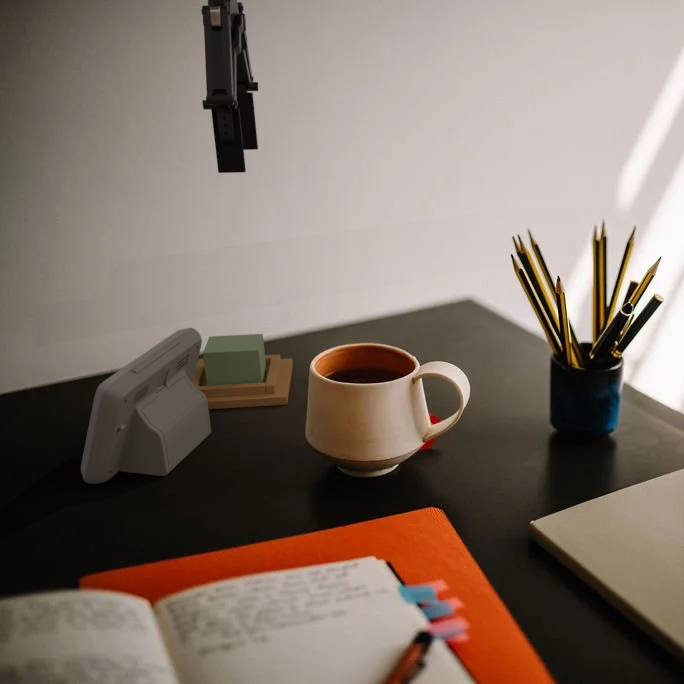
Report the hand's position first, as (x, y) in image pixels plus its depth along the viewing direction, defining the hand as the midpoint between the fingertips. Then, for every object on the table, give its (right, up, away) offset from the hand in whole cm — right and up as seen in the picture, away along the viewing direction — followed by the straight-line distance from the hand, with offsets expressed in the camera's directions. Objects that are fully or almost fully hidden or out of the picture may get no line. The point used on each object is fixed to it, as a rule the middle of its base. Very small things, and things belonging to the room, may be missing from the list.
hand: (239, 160), depth 102 cm
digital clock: (-5, -31, -11) cm, 34 cm away
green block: (-1, -25, +2) cm, 25 cm away
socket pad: (-1, -26, +3) cm, 26 cm away
